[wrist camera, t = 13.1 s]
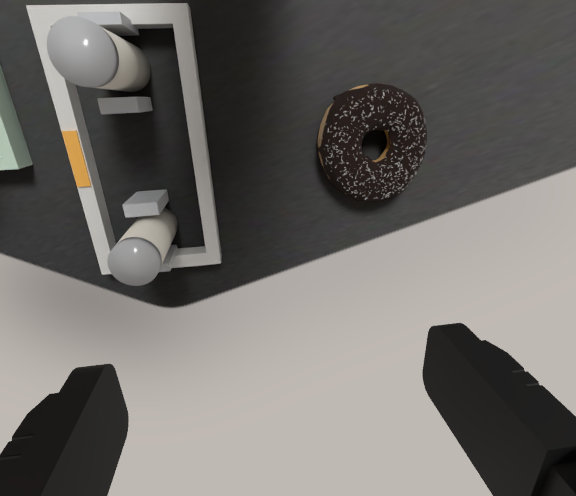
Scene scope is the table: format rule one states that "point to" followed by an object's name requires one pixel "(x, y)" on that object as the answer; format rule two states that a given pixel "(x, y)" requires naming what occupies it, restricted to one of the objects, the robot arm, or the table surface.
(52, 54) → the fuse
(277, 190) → the table surface
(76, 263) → the table surface
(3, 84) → the tray
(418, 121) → the donut
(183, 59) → the white rectangular frame
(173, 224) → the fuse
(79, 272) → the table surface
